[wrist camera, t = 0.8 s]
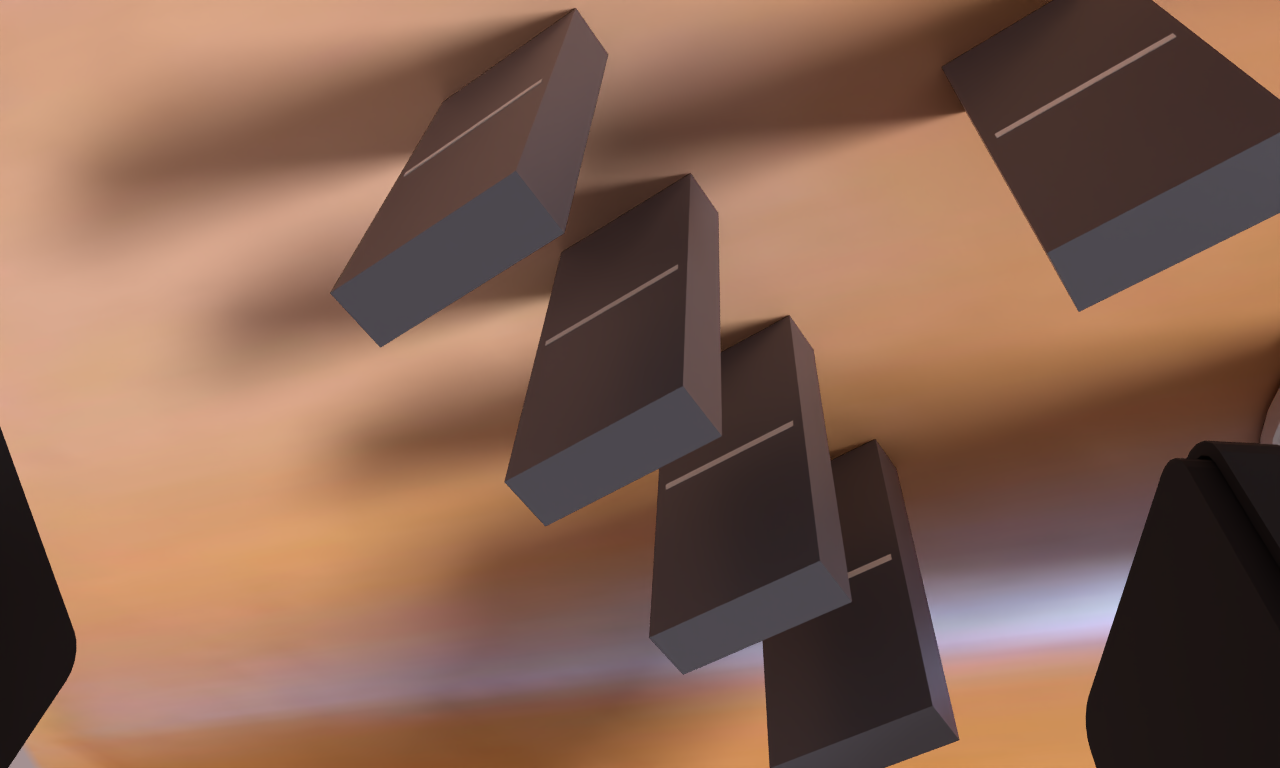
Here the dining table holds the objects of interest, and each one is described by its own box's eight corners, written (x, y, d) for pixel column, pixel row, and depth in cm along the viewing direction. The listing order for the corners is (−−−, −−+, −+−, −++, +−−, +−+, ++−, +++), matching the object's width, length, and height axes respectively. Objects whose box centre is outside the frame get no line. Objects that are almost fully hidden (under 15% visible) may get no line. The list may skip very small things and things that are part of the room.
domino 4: (754, 497, 41) (769, 767, 31) (875, 438, 40) (932, 705, 30) (777, 526, 42) (799, 799, 32) (896, 469, 40) (959, 740, 30)
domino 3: (663, 382, 39) (648, 637, 29) (789, 314, 37) (819, 560, 27) (689, 415, 39) (683, 675, 29) (813, 350, 38) (852, 602, 28)
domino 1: (442, 101, 34) (329, 292, 24) (575, 7, 32) (515, 169, 22) (476, 145, 34) (381, 348, 24) (608, 55, 33) (564, 233, 22)
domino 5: (941, 66, 32) (1046, 251, 22) (1108, -34, 30) (1304, 118, 20) (966, 112, 33) (1079, 312, 23) (1131, 16, 31) (1331, 188, 21)
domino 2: (561, 252, 36) (503, 481, 26) (690, 172, 34) (682, 385, 24) (590, 289, 37) (546, 527, 27) (718, 213, 35) (722, 436, 25)
